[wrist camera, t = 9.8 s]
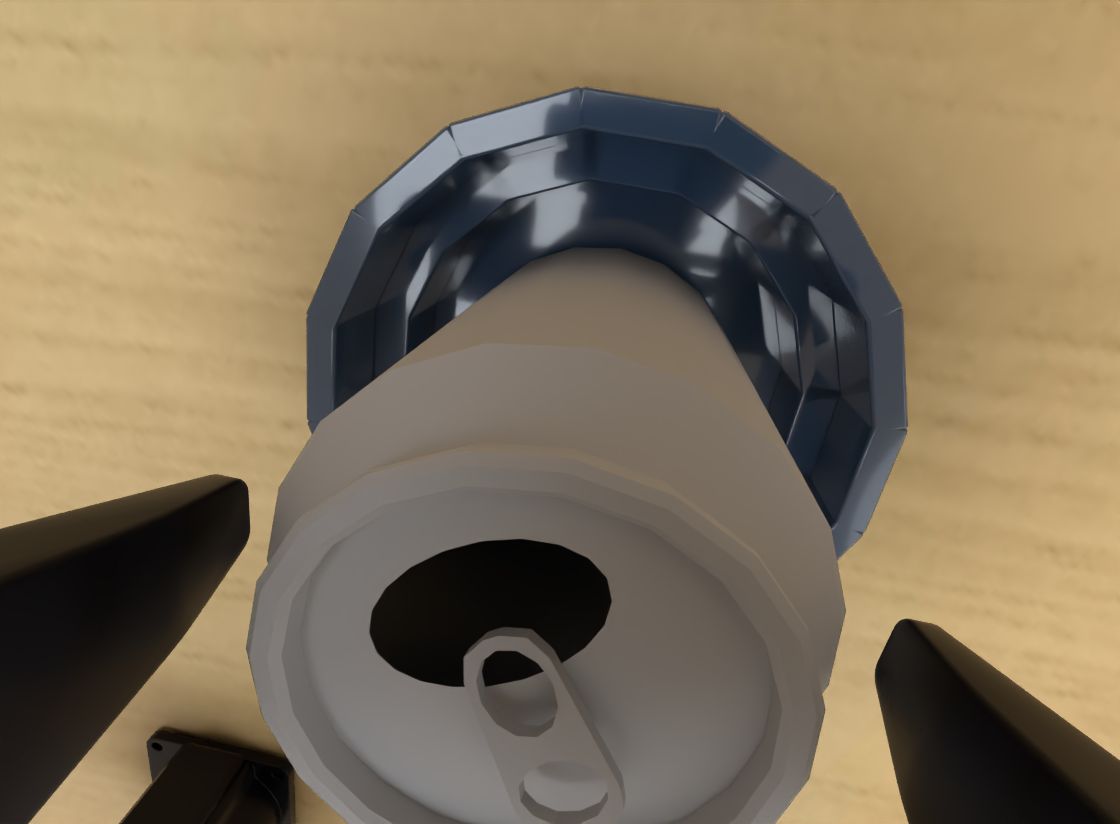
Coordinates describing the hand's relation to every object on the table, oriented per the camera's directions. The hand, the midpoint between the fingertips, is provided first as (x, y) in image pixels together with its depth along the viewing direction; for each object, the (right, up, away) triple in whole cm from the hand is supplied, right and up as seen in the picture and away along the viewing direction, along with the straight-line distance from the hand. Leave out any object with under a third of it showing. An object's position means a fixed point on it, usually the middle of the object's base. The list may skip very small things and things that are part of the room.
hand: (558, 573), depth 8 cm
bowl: (+1, +4, +10) cm, 10 cm away
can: (+1, +3, +9) cm, 10 cm away
